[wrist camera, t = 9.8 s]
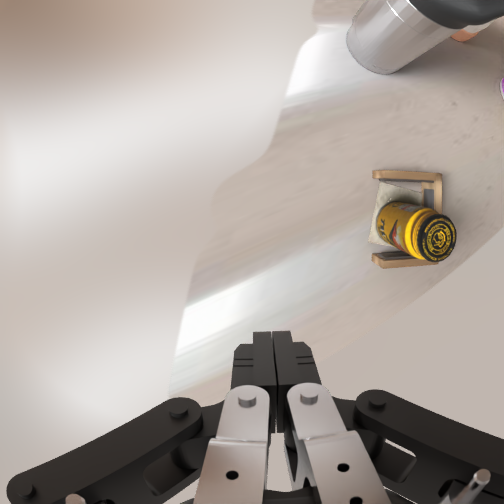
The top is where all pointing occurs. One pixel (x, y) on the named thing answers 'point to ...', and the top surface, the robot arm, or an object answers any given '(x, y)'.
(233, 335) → the top surface
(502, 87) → the supplement bottle
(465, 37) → the pepper shaker
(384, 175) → the light wood low tray
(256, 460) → the robot arm
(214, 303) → the top surface
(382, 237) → the condiment
